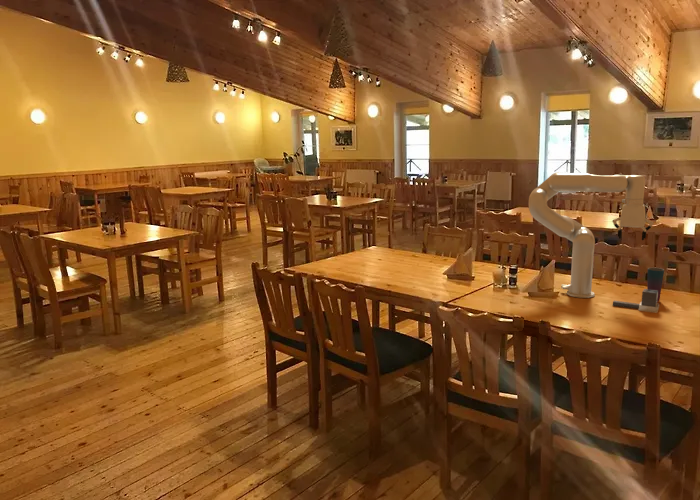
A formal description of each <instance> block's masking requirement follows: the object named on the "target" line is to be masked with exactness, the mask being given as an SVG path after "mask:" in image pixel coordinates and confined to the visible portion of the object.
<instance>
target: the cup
mask: <svg viewBox="0 0 700 500" xmlns="http://www.w3.org/2000/svg"><path fill="white" fill-rule="evenodd" d="M664 272H665V269H664V268H662V267H648V268H647V284H646V285H647V288H646V289H649V290H658V299H657V303H659V302H660V299H661V294H662V288H663V287H662V286H663V280H664V274H665V273H664Z"/></svg>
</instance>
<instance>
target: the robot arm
mask: <svg viewBox="0 0 700 500" xmlns="http://www.w3.org/2000/svg"><path fill="white" fill-rule="evenodd" d="M645 182H646V177H645V176H644V175H640V174H639V175H637V174H631V175H628V174H627V175H624V174H614V175H599V174H598V175H597V174H590V173H584V172H582V173H581V172H580V173H573V172H572V173H571V172H570V173H569V172H566V173H564V172H563V173H562V172H554V173H552V174H551V175H549V176H548V177H547V178H546V179H545V180H544V181H542V183H540V184H539V185H538V186H537V187H535V188H534V189H533V190H532V191H531V193H530V194H529V196H528V211H529V213H530V215H531V216H532V218H533V219H534V220H535V221H537V222H538V223H540V224H541V225H543V226H544V227H545V228H547V229H549V230H550V231H551V232H553V233H554V234H556V235H557V236H559V237H560V238H565V239H567V240H568V241H570V242H572V254H571V270H570V284H568V285H567V284H561V285H560V287H561V289H562V290H567V291H566V295H568V296H569V297H572V298H578V299H579V298H580V299H590V298H593V297H595V295H596V294H595V292H594V291H592V286H593V285H592V283H593V272H594V271H593V270H594V254H595V245H596V240H595V236H594V233H593V232H592V230H591V229H589V228H588V227H586V226H585V225H583V224H581V223H580V222H578V221H577V220H575V219H573V218H571V217H570V216H569V215H562V214H560V213H558V212H557V211H555V210H554V209H552V208H550V207H549V206H548V203H547V202H548V201H549V200H551V198H553V197H554V196H555V195H556V194H557V193H559V192H578V193H579V192H583V193H593V192H594V193H596V192H597V193H621V192H624V191H625V198H623V199H621V203H624V204H622V208H621V211H620V212H621V213H620V216H619V217H616V218H615V219H612V221H611V222H612V224H613V226H614V228H616V229H617V237H618V239H619V240H620V239H622V236H623V229H622V228H623V227H624V228H640V229H641V230H642V233H641V240H642V241H645V239H646V238H647V231H649V230H650V229H651V228H652V227H653V225H654V221H653V220H650V219H648V218H647V217H646V207H645V205H644V197H645V185H646V183H645ZM617 222H619V224H618V223H617ZM646 223H648V225H647V226H646Z"/></svg>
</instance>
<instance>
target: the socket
mask: <svg viewBox="0 0 700 500" xmlns="http://www.w3.org/2000/svg"><path fill="white" fill-rule="evenodd" d="M641 293H642V294H641V301H642V303H641V302H640V303H641V305H646V306H653V307H656V305H657V303H658V302H657V299H658V290H649V289H647V288H643V290H642V292H641Z"/></svg>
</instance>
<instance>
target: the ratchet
mask: <svg viewBox="0 0 700 500" xmlns="http://www.w3.org/2000/svg"><path fill="white" fill-rule="evenodd" d="M641 303H642V300H641V301H640V302H639V303H638V302H637V303H635V302H628V301H620V300H613V301H612V306H613V307H621V308H629V309H633V310H634V309H635V310H638V311H639V312H646V313H655V314H658V311H659V309H660V303H659V302H657V305H656V307H653V306H646V305H641Z"/></svg>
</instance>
